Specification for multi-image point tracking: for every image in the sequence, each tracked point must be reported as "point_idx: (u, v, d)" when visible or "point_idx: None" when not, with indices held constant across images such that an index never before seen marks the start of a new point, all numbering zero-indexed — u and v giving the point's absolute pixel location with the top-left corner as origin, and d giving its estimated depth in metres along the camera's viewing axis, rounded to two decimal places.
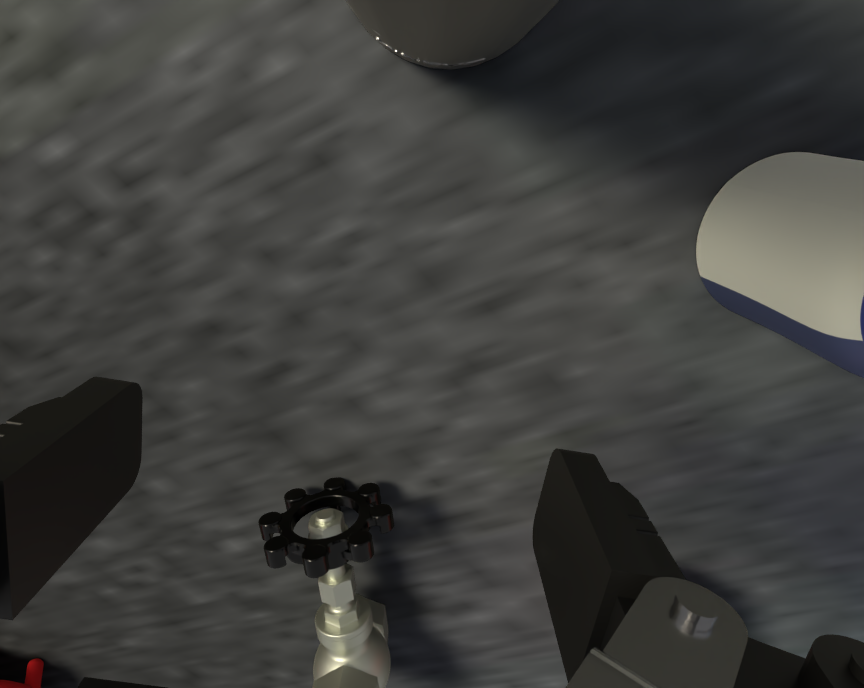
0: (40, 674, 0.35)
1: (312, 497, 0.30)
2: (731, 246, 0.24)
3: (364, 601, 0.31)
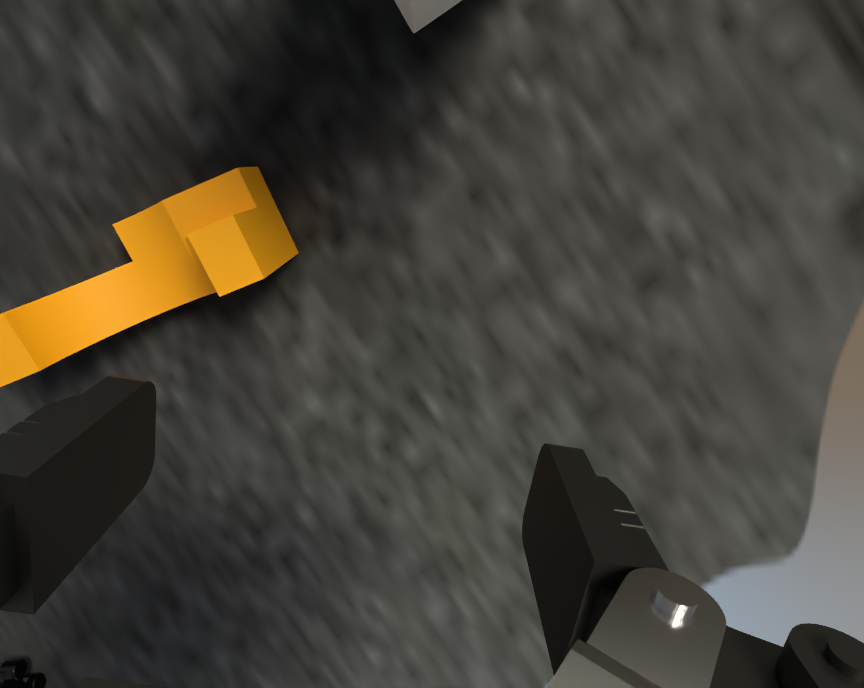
0: None
1: (21, 687, 0.34)
2: None
3: None
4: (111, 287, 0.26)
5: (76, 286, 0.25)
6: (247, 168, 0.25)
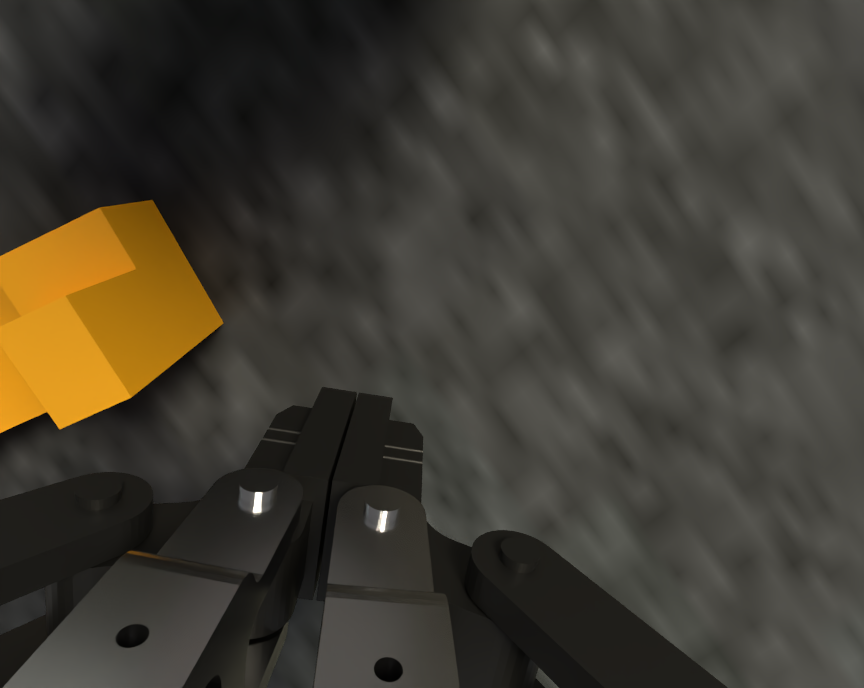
0: None
1: None
2: None
3: None
4: None
5: None
6: (125, 205, 0.16)
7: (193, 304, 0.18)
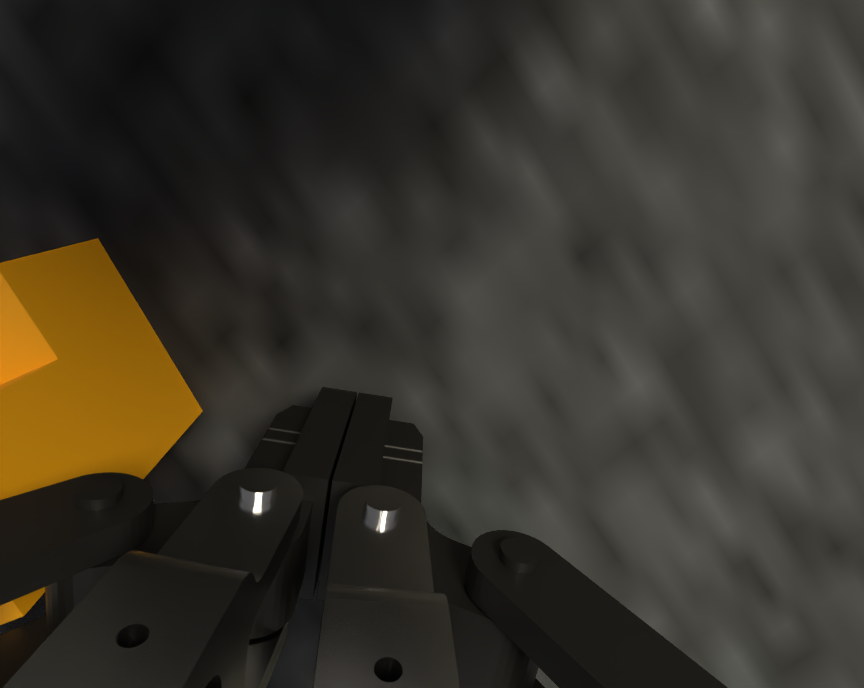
0: None
1: None
2: None
3: None
4: None
5: None
6: (47, 254, 0.11)
7: (156, 394, 0.12)
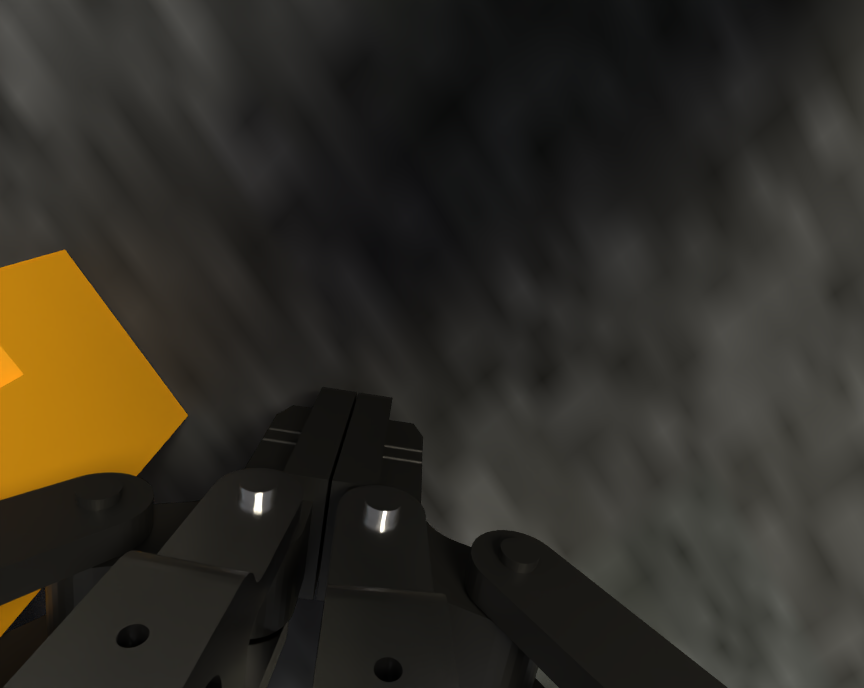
0: None
1: None
2: None
3: None
4: None
5: None
6: (6, 269, 0.10)
7: (133, 404, 0.12)
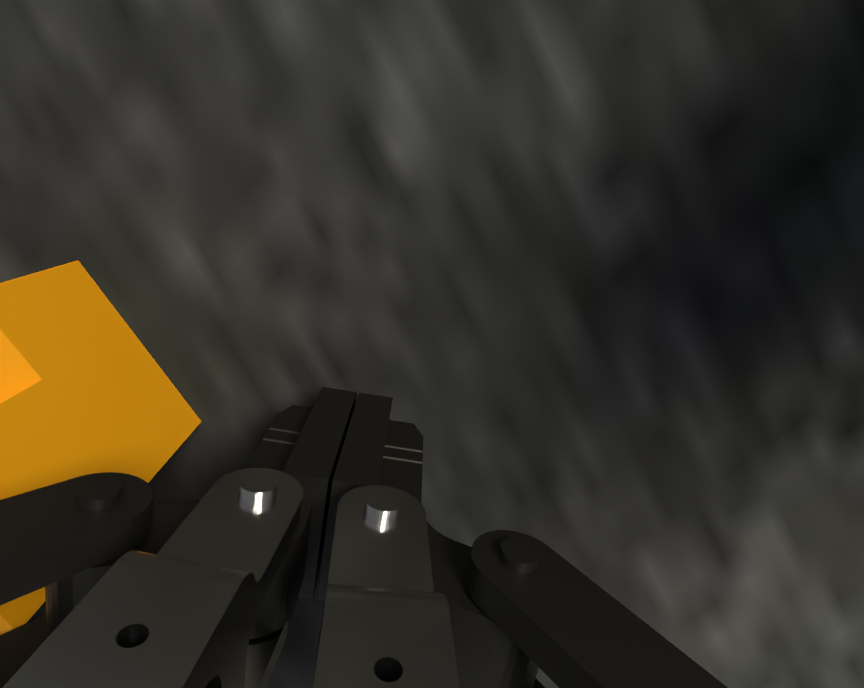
0: None
1: None
2: None
3: None
4: None
5: None
6: (25, 278, 0.11)
7: (150, 407, 0.12)
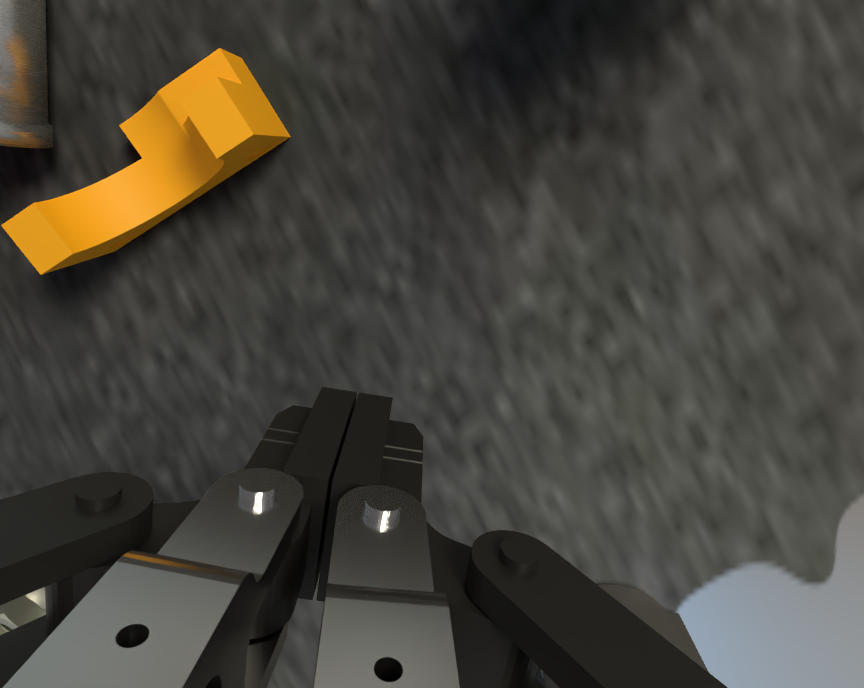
0: None
1: None
2: None
3: None
4: (127, 184, 0.29)
5: (95, 184, 0.28)
6: (230, 53, 0.28)
7: (273, 117, 0.29)
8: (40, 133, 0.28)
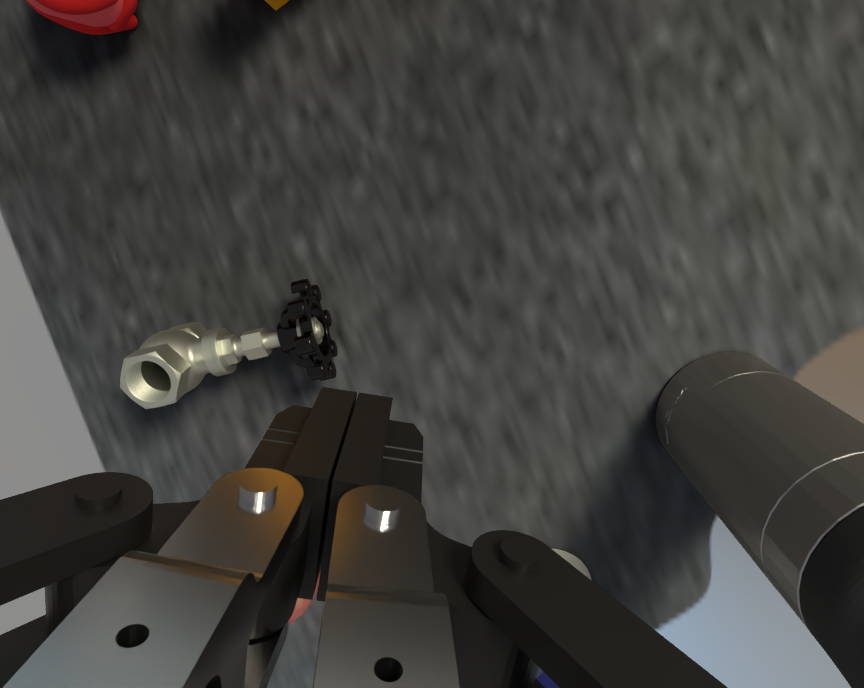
0: (123, 30, 0.33)
1: (320, 308, 0.38)
2: None
3: None
4: None
5: None
6: None
7: None
8: None
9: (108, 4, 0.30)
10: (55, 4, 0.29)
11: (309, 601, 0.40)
